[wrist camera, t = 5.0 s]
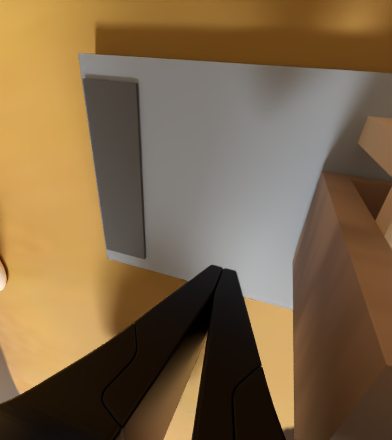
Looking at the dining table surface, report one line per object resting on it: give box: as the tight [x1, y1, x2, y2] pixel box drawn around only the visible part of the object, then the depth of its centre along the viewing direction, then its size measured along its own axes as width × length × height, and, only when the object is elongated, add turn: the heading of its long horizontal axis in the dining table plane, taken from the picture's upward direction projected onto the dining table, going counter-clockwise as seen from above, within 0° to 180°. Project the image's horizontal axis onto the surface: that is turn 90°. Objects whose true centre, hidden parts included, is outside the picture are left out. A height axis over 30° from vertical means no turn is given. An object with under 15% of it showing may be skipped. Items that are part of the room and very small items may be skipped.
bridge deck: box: [78, 53, 392, 310], centre depth 10 cm, size 12×26×6 cm, turn 86°
